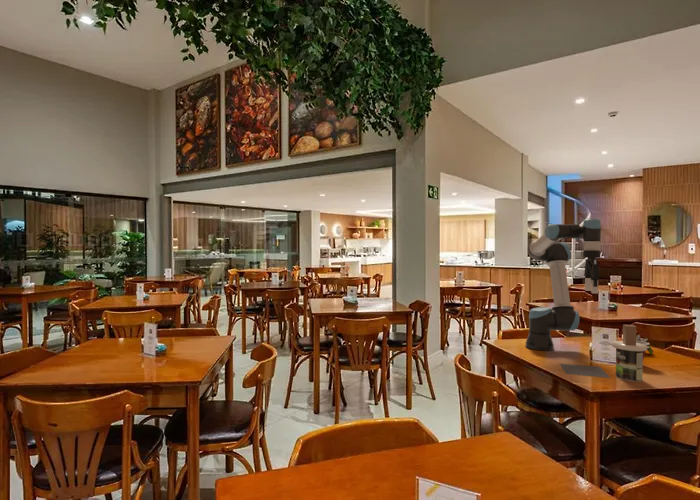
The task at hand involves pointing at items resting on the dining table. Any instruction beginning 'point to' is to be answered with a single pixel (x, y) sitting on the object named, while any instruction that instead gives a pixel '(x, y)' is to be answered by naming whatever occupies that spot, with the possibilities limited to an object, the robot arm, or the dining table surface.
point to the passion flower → (646, 342)
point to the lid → (629, 340)
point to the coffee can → (629, 365)
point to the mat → (584, 370)
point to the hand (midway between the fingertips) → (591, 292)
